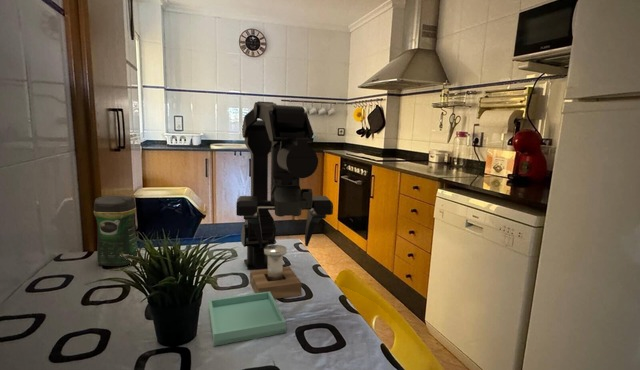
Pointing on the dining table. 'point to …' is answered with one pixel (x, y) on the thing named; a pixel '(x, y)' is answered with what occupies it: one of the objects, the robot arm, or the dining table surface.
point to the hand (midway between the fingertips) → (284, 246)
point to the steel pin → (275, 261)
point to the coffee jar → (115, 229)
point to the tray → (245, 318)
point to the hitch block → (276, 283)
